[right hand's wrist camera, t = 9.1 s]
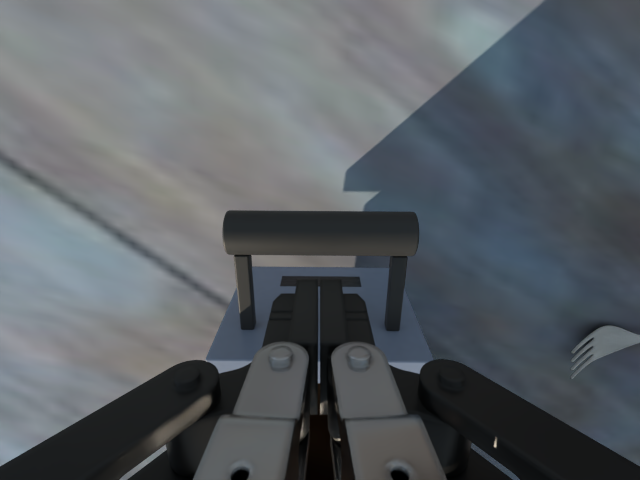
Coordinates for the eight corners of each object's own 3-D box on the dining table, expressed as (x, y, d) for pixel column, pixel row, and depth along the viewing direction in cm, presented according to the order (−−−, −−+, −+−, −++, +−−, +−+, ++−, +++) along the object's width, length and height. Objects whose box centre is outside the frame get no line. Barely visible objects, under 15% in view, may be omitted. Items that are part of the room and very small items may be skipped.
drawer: (238, 177, 20) (185, 231, 12) (404, 178, 20) (456, 233, 12) (263, 475, 29) (241, 611, 21) (376, 477, 29) (394, 613, 21)
